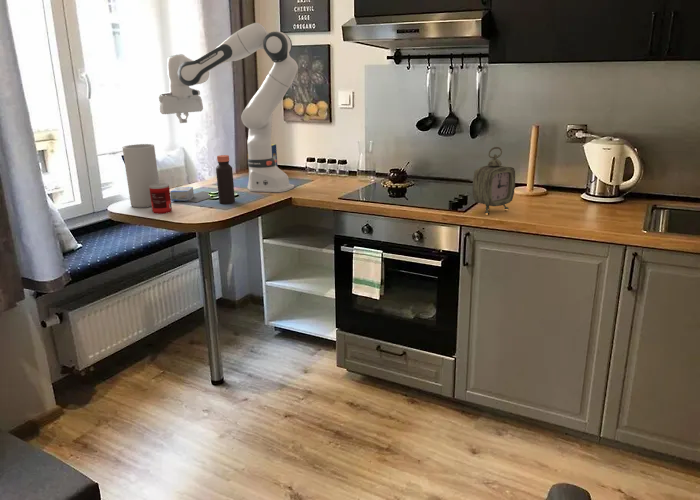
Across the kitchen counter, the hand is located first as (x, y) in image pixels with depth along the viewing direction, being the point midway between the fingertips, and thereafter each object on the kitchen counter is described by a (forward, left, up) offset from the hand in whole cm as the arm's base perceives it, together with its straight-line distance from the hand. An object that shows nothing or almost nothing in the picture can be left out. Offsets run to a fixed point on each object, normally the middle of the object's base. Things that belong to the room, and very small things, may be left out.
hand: (183, 122), depth 265 cm
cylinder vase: (-4, +33, -31) cm, 46 cm away
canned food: (-20, +40, -31) cm, 55 cm away
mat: (-16, +13, -31) cm, 38 cm away
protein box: (-13, -43, -31) cm, 55 cm away
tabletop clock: (-143, -7, -31) cm, 147 cm away
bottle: (-35, +17, -31) cm, 50 cm away
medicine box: (-11, +16, -29) cm, 34 cm away
